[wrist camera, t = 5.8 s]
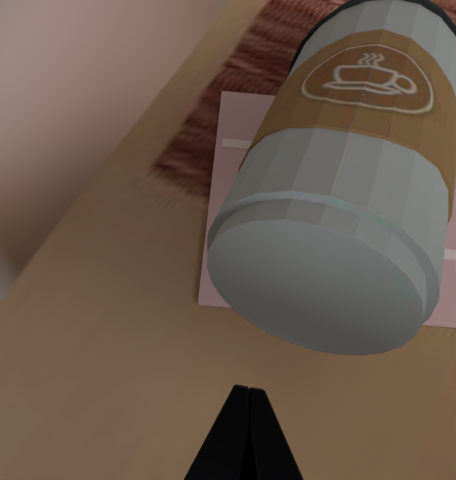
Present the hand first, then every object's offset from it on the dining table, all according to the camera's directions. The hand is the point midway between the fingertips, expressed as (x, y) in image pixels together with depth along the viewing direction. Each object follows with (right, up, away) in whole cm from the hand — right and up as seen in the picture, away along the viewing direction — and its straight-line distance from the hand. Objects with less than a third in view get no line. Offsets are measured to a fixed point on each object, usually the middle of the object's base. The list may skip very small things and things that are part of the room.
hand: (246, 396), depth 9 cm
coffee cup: (+1, +3, 0) cm, 3 cm away
